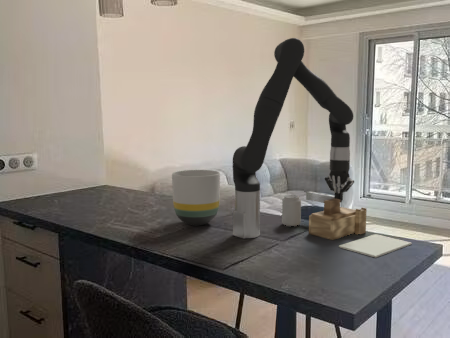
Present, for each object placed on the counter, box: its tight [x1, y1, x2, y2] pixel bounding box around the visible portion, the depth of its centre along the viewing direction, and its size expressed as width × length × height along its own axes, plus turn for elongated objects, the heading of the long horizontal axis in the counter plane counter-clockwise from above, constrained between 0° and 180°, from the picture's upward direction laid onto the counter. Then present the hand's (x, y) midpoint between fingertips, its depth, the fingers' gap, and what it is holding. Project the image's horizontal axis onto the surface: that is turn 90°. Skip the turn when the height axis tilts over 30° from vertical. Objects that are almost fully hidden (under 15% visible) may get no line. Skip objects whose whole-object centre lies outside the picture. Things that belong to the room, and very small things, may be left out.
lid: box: [310, 199, 356, 221], centre depth 165 cm, size 18×9×7 cm, turn 129°
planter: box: [171, 169, 221, 226], centre depth 179 cm, size 20×20×21 cm
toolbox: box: [308, 207, 368, 241], centre depth 166 cm, size 18×15×10 cm
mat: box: [338, 233, 413, 259], centre depth 150 cm, size 22×14×1 cm, turn 129°
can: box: [281, 194, 302, 227], centre depth 178 cm, size 8×8×12 cm
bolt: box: [305, 190, 335, 204], centre depth 178 cm, size 2×14×3 cm, turn 39°
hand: (338, 202), depth 172 cm, fingers closed
